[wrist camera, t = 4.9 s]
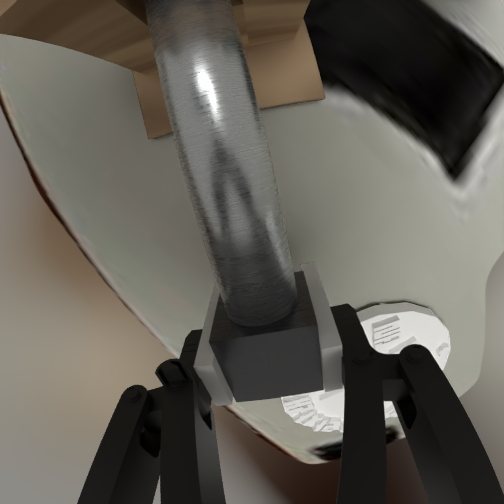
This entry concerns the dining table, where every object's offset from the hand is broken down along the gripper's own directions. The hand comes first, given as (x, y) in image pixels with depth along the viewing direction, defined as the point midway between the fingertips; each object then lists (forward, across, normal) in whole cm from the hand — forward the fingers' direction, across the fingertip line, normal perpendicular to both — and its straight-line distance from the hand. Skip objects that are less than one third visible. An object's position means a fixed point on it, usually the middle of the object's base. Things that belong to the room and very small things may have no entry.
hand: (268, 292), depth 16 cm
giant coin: (+7, +8, -17) cm, 20 cm away
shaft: (-2, 0, +9) cm, 9 cm away
